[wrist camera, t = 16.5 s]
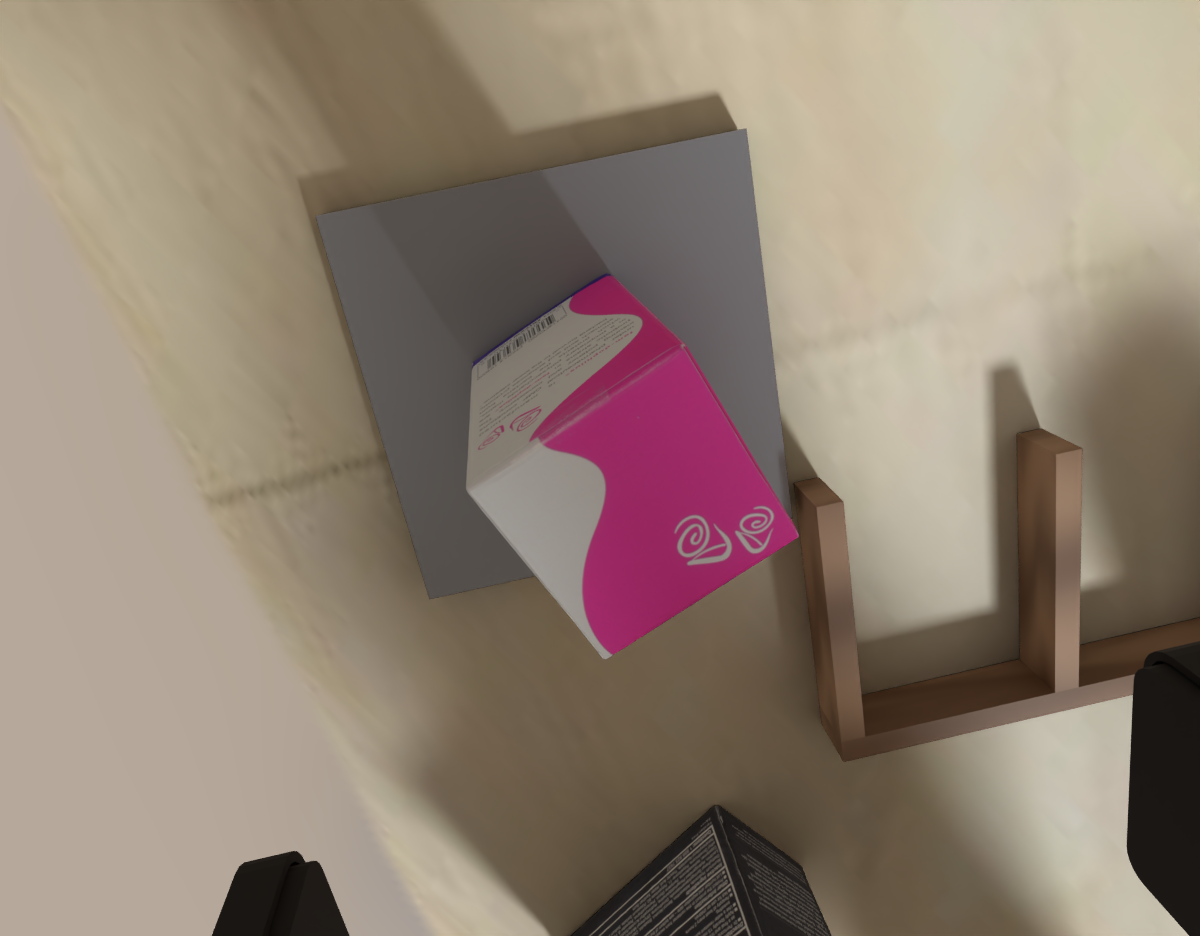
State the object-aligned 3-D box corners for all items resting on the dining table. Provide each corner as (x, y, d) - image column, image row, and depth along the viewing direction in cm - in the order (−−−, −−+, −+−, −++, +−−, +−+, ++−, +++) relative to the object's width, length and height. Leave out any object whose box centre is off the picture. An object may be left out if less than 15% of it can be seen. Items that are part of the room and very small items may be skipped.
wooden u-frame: (1236, 628, 37) (1285, 659, 35) (821, 723, 37) (843, 761, 34) (1259, 380, 33) (1316, 396, 31) (793, 482, 33) (816, 507, 30)
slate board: (784, 508, 33) (792, 519, 32) (431, 586, 32) (429, 599, 32) (738, 129, 28) (746, 128, 27) (321, 214, 28) (315, 215, 27)
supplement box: (564, 494, 31) (598, 672, 20) (467, 362, 29) (448, 480, 18) (699, 407, 30) (808, 541, 19) (610, 265, 28) (678, 328, 17)
